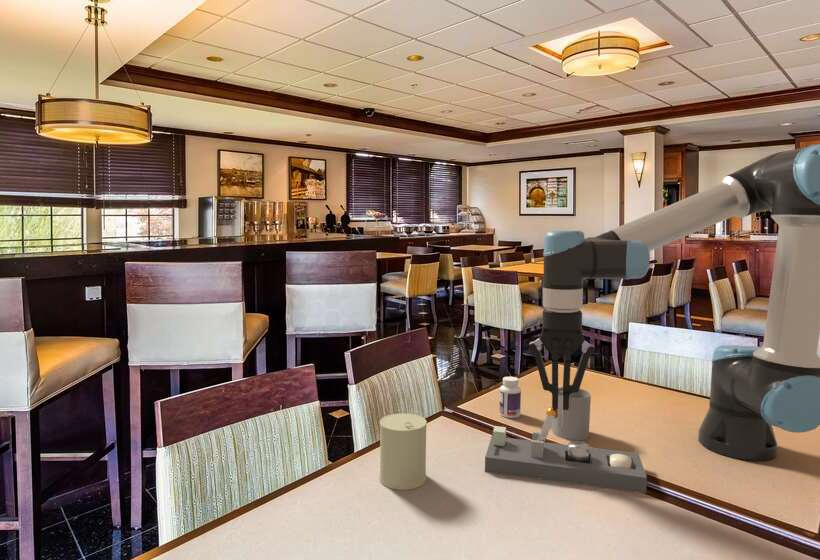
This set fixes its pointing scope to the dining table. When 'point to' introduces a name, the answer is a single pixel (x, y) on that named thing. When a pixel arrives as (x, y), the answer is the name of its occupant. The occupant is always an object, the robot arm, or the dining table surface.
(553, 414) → the lever
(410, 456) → the can
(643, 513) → the dining table surface
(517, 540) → the dining table surface
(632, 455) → the panel
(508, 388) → the pill bottle
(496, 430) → the slider
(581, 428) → the cup
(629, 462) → the ivory button
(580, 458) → the grey button
